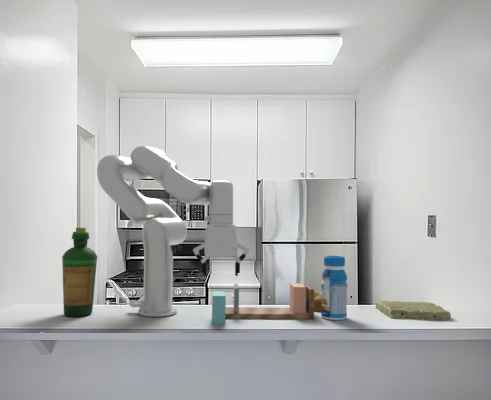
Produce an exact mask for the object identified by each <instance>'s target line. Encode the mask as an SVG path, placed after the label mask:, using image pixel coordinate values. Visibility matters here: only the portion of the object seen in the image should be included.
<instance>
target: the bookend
mask: <svg viewBox="0 0 491 400" xmlns="http://www.w3.org/2000/svg"><path fill="white" fill-rule="evenodd" d="M232 303H233V306H232V307H233V308H234V313H239V306H240V287H239V283H233V302H232Z"/></svg>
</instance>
